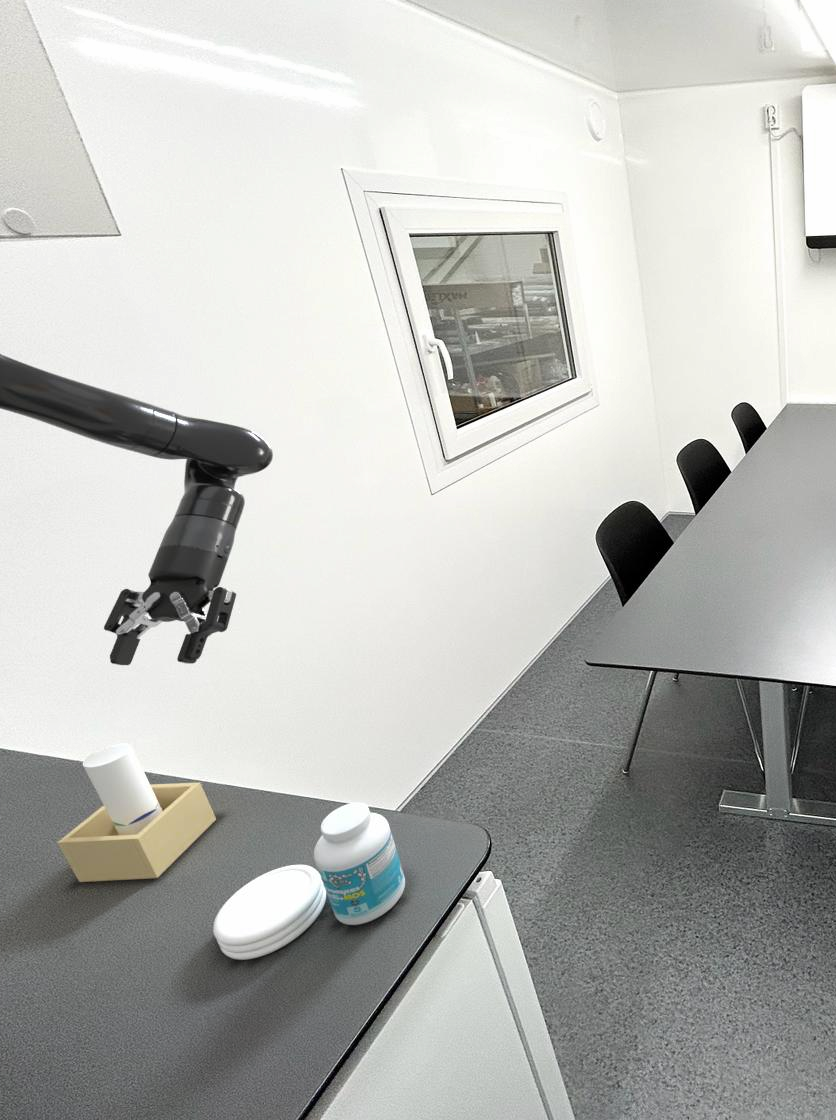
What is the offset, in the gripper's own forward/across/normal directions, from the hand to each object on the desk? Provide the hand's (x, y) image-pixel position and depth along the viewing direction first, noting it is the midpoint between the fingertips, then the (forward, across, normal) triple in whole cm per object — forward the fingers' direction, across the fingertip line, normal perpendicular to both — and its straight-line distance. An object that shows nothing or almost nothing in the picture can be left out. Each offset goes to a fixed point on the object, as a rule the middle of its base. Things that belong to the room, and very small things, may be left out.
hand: (153, 663), depth 84 cm
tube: (+22, 0, +9) cm, 24 cm away
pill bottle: (+30, +34, +3) cm, 45 cm away
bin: (+23, 0, +10) cm, 25 cm away
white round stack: (+31, +24, +2) cm, 39 cm away
